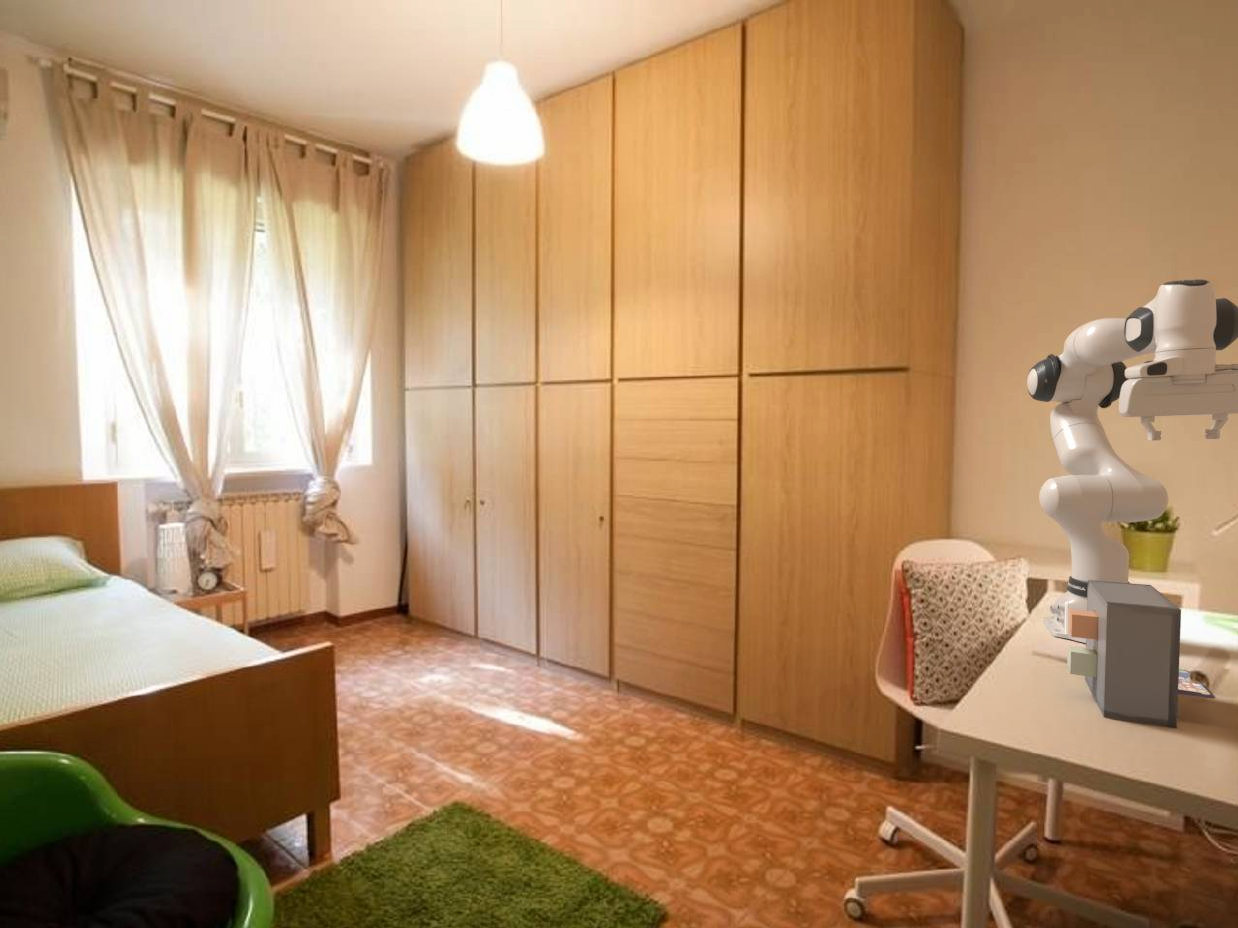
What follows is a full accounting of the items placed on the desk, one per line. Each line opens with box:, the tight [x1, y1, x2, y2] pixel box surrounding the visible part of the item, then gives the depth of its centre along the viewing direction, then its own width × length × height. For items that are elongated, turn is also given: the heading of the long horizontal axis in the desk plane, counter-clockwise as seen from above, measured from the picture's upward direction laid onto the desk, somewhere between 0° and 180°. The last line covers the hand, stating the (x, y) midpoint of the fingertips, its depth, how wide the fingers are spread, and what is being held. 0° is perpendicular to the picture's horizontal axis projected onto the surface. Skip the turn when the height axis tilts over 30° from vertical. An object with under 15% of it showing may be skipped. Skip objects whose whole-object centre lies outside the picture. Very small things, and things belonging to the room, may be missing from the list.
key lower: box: [1066, 644, 1097, 677], centre depth 126 cm, size 5×4×4 cm
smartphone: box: [1178, 668, 1214, 699], centre depth 133 cm, size 1×7×15 cm
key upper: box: [1068, 609, 1099, 640], centre depth 126 cm, size 5×4×4 cm
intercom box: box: [1084, 580, 1182, 729], centre depth 123 cm, size 10×20×20 cm, turn 153°
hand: (1183, 439), depth 128 cm, fingers open, 8 cm apart
